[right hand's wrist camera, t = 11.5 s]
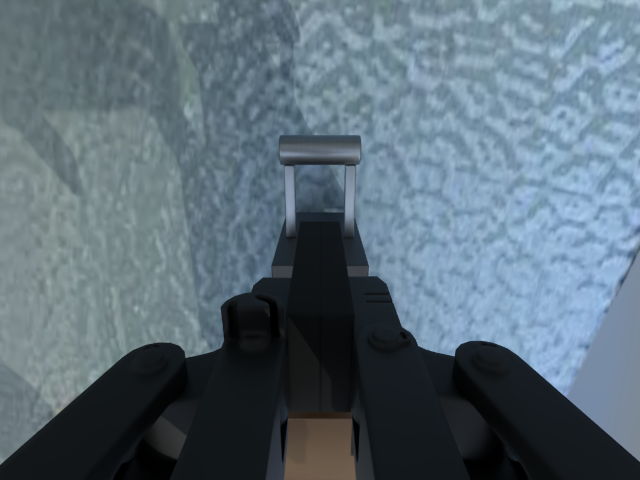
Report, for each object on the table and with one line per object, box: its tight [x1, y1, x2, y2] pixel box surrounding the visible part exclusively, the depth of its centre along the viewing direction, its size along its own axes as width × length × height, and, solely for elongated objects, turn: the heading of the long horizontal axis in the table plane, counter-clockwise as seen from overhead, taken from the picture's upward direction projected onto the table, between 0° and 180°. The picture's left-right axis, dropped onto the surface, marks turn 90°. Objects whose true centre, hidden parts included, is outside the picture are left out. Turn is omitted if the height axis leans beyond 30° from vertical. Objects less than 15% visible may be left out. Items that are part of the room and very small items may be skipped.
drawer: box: [272, 135, 369, 278], centre depth 25 cm, size 21×5×10 cm, turn 0°
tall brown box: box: [284, 405, 356, 480], centre depth 30 cm, size 16×6×11 cm, turn 0°
